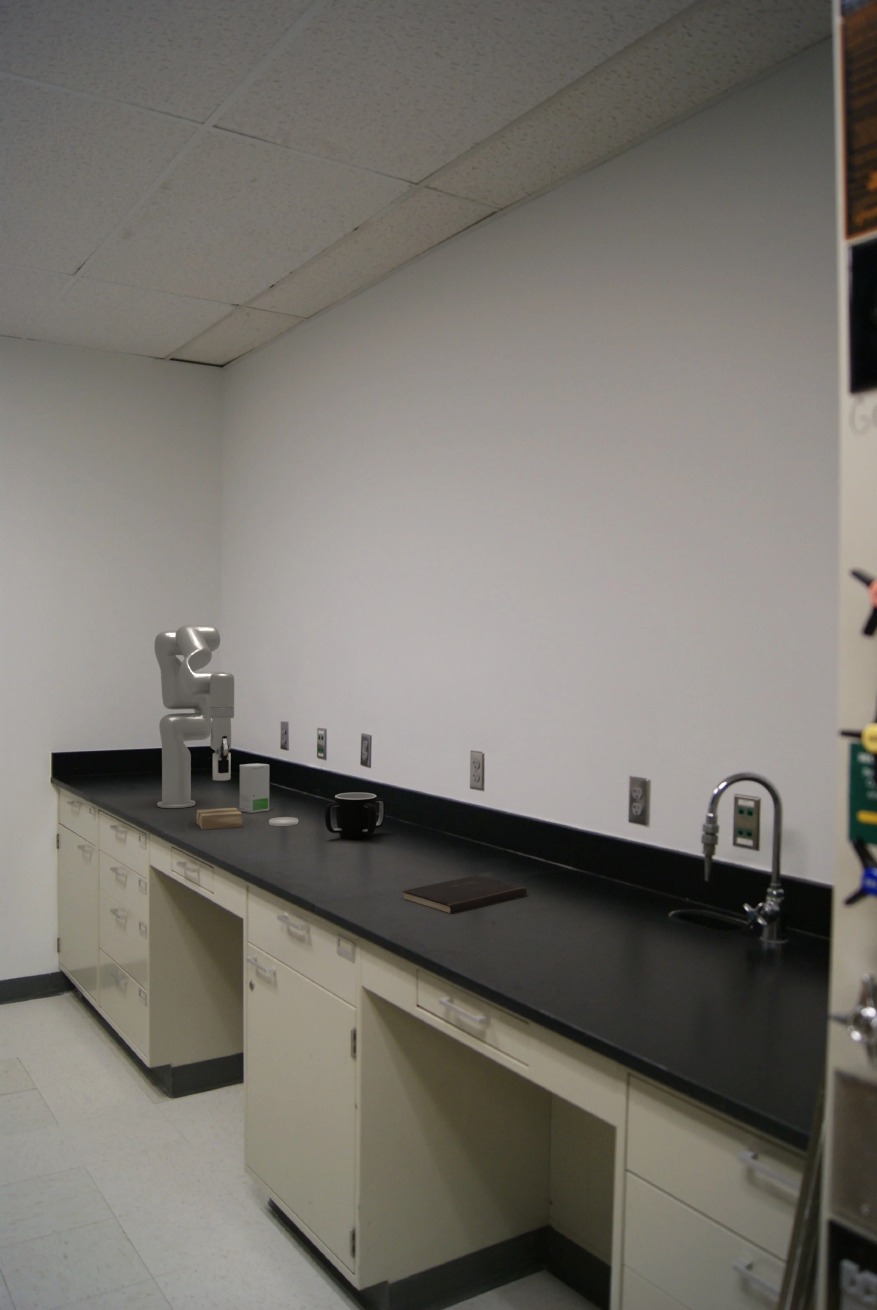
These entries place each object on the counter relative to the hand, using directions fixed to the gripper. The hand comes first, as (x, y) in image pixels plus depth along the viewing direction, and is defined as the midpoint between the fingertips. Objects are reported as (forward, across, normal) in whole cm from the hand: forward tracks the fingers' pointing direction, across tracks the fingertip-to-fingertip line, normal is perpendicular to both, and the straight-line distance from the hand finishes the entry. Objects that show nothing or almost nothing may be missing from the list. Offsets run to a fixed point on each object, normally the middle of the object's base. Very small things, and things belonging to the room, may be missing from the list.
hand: (221, 771), depth 300 cm
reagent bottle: (+3, 0, 0) cm, 3 cm away
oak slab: (+16, 0, -1) cm, 16 cm away
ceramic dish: (+16, +6, +18) cm, 25 cm away
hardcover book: (+17, +106, +35) cm, 113 cm away
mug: (+17, +33, +33) cm, 49 cm away
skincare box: (+17, -20, +15) cm, 30 cm away
